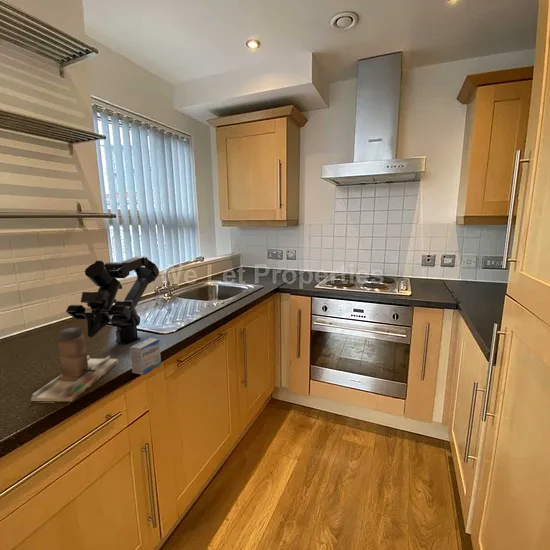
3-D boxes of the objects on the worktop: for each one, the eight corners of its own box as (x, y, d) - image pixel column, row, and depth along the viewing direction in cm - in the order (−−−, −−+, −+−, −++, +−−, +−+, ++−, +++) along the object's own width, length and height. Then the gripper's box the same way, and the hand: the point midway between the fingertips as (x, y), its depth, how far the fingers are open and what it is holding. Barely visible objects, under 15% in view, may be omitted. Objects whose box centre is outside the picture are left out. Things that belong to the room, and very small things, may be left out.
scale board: (87, 361, 99) (86, 355, 99) (118, 362, 99) (117, 356, 98) (31, 401, 78) (30, 394, 77) (71, 402, 77) (70, 395, 77)
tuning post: (74, 369, 91) (68, 326, 88) (101, 370, 91) (96, 327, 88) (60, 380, 85) (53, 334, 83) (88, 380, 85) (82, 335, 82)
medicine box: (143, 376, 90) (140, 348, 89) (131, 373, 92) (129, 346, 90) (161, 364, 98) (159, 339, 96) (150, 361, 99) (148, 337, 98)
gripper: (65, 280, 96) (43, 325, 88) (123, 281, 96) (106, 326, 87) (85, 298, 106) (66, 340, 97) (137, 298, 105) (123, 341, 96)
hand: (89, 336), depth 94 cm, fingers closed
